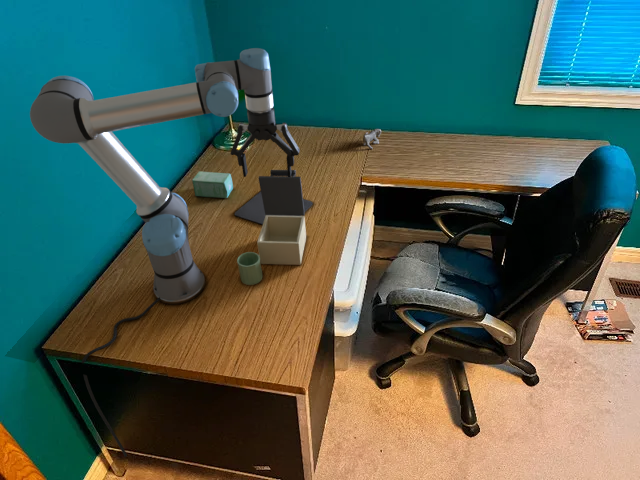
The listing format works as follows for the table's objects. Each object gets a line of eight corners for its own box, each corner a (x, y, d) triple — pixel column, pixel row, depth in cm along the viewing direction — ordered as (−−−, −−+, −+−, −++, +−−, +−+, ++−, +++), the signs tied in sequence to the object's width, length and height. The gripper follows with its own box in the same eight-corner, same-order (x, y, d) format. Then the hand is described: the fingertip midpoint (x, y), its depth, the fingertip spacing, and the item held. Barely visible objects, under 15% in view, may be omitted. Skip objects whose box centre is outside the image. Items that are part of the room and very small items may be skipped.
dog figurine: (369, 151, 212) (369, 135, 208) (359, 147, 215) (359, 131, 211) (385, 140, 219) (386, 125, 215) (375, 137, 222) (375, 122, 218)
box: (228, 198, 187) (224, 182, 182) (195, 196, 189) (191, 180, 185) (234, 188, 193) (231, 172, 188) (202, 187, 195) (198, 170, 190)
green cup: (257, 286, 147) (254, 268, 143) (237, 283, 149) (233, 264, 144) (265, 271, 152) (263, 253, 148) (245, 268, 154) (242, 250, 149)
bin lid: (300, 178, 149) (302, 163, 154) (258, 177, 150) (262, 163, 155) (304, 215, 160) (306, 200, 165) (265, 214, 161) (268, 200, 166)
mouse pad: (314, 202, 182) (314, 202, 182) (284, 232, 168) (284, 231, 168) (264, 188, 191) (264, 187, 191) (232, 214, 178) (232, 214, 178)
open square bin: (300, 265, 154) (298, 243, 149) (260, 263, 156) (256, 242, 150) (306, 237, 166) (304, 216, 160) (268, 236, 167) (265, 215, 162)
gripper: (306, 102, 137) (309, 168, 150) (219, 102, 138) (230, 168, 151) (303, 113, 131) (307, 181, 144) (213, 113, 132) (224, 180, 145)
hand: (267, 174), depth 148 cm, fingers open, 13 cm apart
